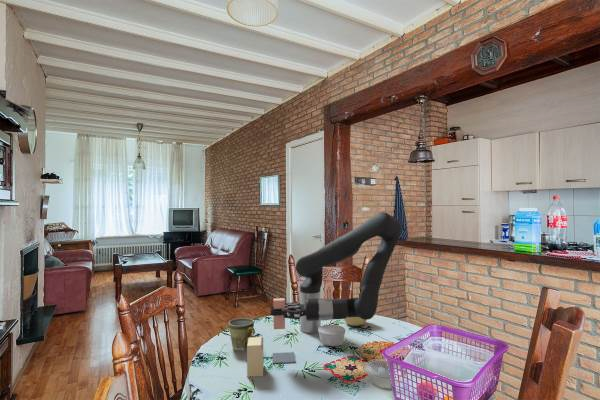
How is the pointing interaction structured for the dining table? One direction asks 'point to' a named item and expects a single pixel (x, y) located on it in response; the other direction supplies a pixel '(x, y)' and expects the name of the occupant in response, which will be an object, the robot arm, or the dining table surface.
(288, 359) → the felt pad
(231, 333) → the ceramic cup
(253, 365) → the block
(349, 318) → the round fruit
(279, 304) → the stub
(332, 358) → the dining table surface
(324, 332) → the ramekin
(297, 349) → the dining table surface
